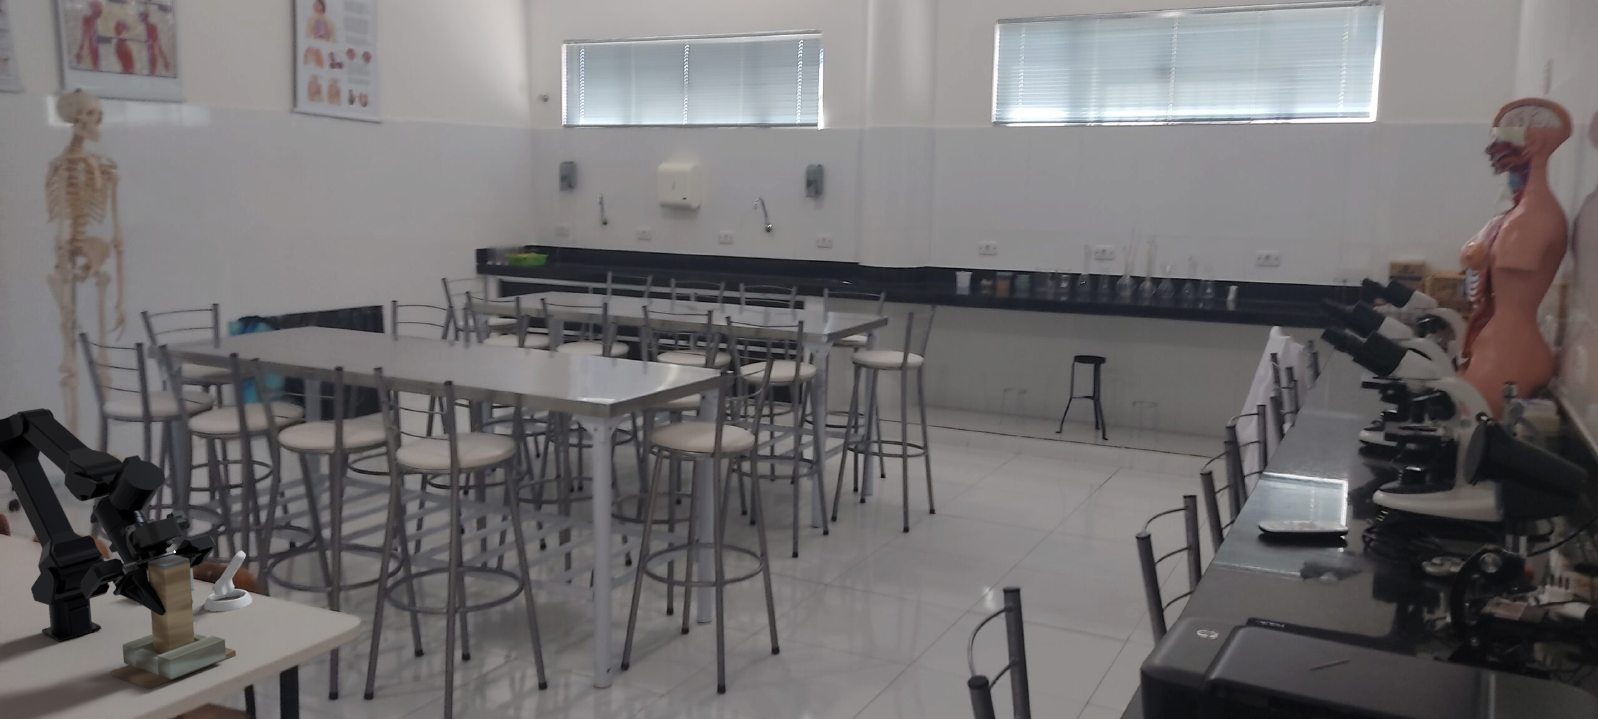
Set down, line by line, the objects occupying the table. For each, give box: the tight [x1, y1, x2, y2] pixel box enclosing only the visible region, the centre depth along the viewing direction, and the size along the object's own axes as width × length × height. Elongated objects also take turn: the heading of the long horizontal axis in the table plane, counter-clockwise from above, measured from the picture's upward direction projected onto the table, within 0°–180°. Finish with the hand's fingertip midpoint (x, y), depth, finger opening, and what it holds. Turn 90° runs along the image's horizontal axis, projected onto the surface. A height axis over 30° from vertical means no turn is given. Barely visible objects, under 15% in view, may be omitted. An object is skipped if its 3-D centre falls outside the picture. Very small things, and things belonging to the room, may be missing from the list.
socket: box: [111, 632, 237, 690], centre depth 174 cm, size 12×14×4 cm
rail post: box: [148, 555, 195, 655], centre depth 172 cm, size 4×4×15 cm
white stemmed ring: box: [203, 550, 253, 613], centre depth 199 cm, size 8×12×7 cm
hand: (177, 609), depth 172 cm, fingers closed on rail post, 4 cm apart
